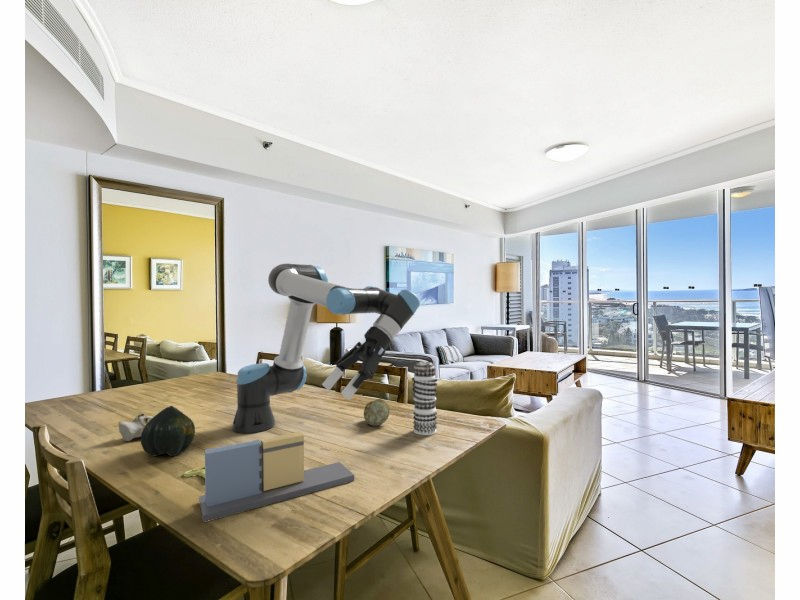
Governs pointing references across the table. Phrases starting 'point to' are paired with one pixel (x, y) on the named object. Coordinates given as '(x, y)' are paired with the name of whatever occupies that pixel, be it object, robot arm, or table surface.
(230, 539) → the table surface
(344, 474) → the base
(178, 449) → the squash
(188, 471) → the key
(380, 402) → the seashell
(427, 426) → the white patterned cylinder
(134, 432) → the ceramic sculpture
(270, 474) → the tan cardboard parcel
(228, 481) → the blue square panel
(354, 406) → the table surface
